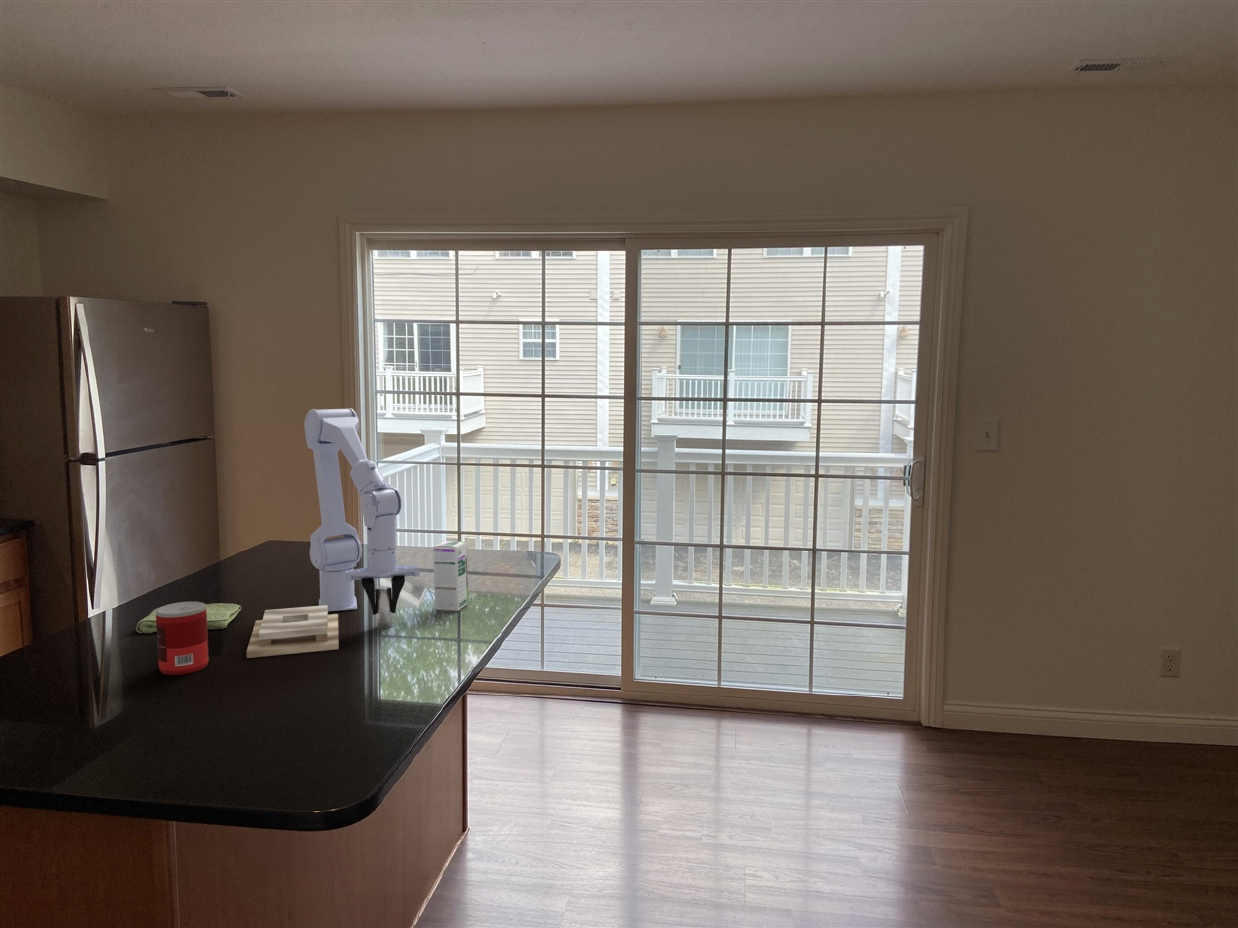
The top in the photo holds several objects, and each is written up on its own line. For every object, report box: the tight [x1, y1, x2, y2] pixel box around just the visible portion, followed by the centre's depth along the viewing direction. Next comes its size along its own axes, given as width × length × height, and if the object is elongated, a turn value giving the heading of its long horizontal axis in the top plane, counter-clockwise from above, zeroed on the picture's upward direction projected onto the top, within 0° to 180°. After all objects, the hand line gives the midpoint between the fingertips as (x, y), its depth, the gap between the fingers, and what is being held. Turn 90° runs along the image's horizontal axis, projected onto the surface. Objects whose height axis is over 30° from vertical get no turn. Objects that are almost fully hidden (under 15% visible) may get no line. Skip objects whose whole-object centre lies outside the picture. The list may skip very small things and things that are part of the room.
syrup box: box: [432, 540, 469, 612], centre depth 187 cm, size 6×6×14 cm
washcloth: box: [135, 602, 242, 634], centre depth 175 cm, size 13×18×3 cm
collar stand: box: [246, 605, 340, 659], centre depth 166 cm, size 20×16×4 cm
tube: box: [375, 586, 393, 630], centre depth 173 cm, size 3×3×8 cm
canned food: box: [156, 601, 210, 676], centre depth 149 cm, size 8×8×11 cm
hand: (383, 612), depth 173 cm, fingers closed on tube, 3 cm apart
